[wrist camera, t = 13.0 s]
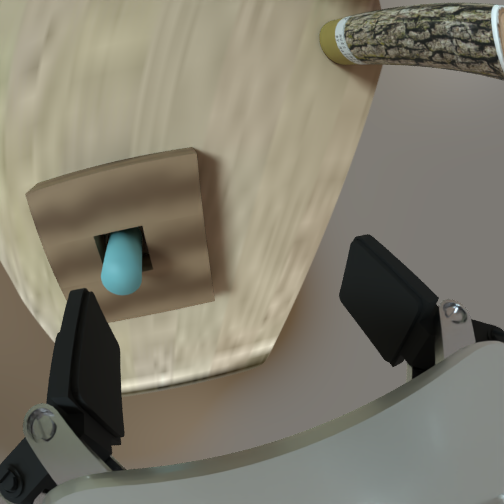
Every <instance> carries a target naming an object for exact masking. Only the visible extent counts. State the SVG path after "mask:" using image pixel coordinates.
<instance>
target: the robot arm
mask: <svg viewBox="0 0 504 504" xmlns="http://www.w3.org/2000/svg"><path fill="white" fill-rule="evenodd" d="M339 297H340V300H341V302H342V303H343V305H344V306H345V307H346V309H347V310H348V312H349V313H350V314H351V315H352V317H353V318H354V319H355V321H356V322H357V323H358V325H359V326H360V327H361V329H362V330H363V331H364V333H365V334H366V335H367V337H368V338H369V339H370V341H371V342H372V343H373V345H374V346H375V347H376V349H377V350H378V351H379V353H380V354H381V356H382V357H383V358H384V360H385V361H387V362H389V363H390V364H391V365H392V367H394V366H396V365H398V364H400V363H402V362H403V361H404V359H405V360H406V361H407V377H406V383H405V384H404V385H402V386H400V387H398V388H397V389H395V390H393V391H391V392H390V393H388V394H386V395H384V396H382V397H380V398H378V399H376V400H374V401H372V402H370V403H368V404H367V405H364V406H362V407H360V408H358V409H356V410H354V411H352V412H350V413H347V414H345V415H343V416H341V417H339V418H336V419H334V420H331V421H329V422H327V423H324V424H322V425H319V426H317V427H314V428H312V429H309V430H306V431H304V432H301V433H298V434H295V435H293V436H290V437H287V438H284V439H281V440H278V441H275V442H271V443H268V444H265V445H262V446H258V447H255V448H251V449H248V450H243V451H239V452H235V453H231V454H227V455H223V456H218V457H214V458H209V459H203V460H199V461H192V462H186V463H181V464H174V465H168V466H160V467H151V468H142V469H131V470H126V469H125V468H124V467H123V466H122V465H121V464H120V463H119V462H118V461H117V460H116V459H115V458H114V457H113V456H112V455H111V454H112V447H111V445H121V439H120V437H124V423H123V413H122V397H121V373H120V348H119V344H118V342H117V340H116V338H115V336H114V334H113V332H112V331H111V329H110V327H109V325H108V323H107V320H106V318H105V316H104V314H103V312H102V310H101V308H100V306H99V304H98V301H97V299H96V297H95V295H94V293H93V292H92V291H90V292H89V291H88V289H87V288H82V289H76V290H71V291H70V293H69V296H68V300H67V304H66V308H65V312H64V316H63V321H62V325H61V330H60V332H59V333H58V334H57V337H56V341H55V346H54V351H53V357H52V363H51V370H50V377H49V385H48V393H47V403H46V404H43V403H41V404H37V405H35V406H33V407H32V408H30V410H29V411H28V412H27V413H26V415H25V418H24V422H23V431H24V435H25V438H24V439H23V440H22V441H21V442H20V443H19V444H18V446H17V447H16V448H15V449H14V450H13V451H12V452H11V453H10V454H9V455H8V456H7V458H6V459H5V460H4V461H3V462H2V463H1V464H0V504H504V331H503V330H502V329H500V328H498V327H496V326H493V325H490V324H486V323H482V322H479V321H476V320H472V319H471V317H470V314H469V312H468V310H467V309H466V307H464V306H463V305H462V304H461V303H459V302H458V301H455V300H450V299H447V300H443V301H442V302H441V303H440V305H439V307H438V306H437V305H436V303H437V301H438V299H439V298H438V297H437V296H436V295H435V294H434V293H433V292H432V291H431V290H430V289H429V288H428V287H427V286H426V285H425V284H424V283H423V282H422V281H421V280H420V279H419V278H418V277H417V276H416V275H415V274H414V273H413V272H412V271H410V270H409V269H408V268H407V267H406V266H405V265H404V264H403V263H402V262H401V261H400V260H398V259H397V258H396V257H395V256H394V255H393V254H392V253H391V252H389V251H388V250H387V249H386V248H385V247H384V246H383V245H382V244H380V243H379V242H378V241H377V240H376V239H375V238H374V237H372V236H371V235H368V234H367V235H362V236H357V237H355V239H354V240H353V242H352V243H351V245H350V250H349V254H348V259H347V264H346V268H345V272H344V277H343V281H342V285H341V289H340V293H339Z"/></svg>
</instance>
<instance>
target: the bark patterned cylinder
mask: <svg viewBox="0 0 504 504" xmlns="http://www.w3.org/2000/svg"><path fill="white" fill-rule="evenodd" d="M320 45H321V47H322V50H323V51H324V53H325V54H326V55H327V57H329V58H330V59H331V60H332V61H334V62H336V63H338V64H343V65H351V64H386V65H388V64H390V65H409V66H422V67H432V68H441V69H448V70H456V71H462V72H467V73H473V74H478V75H483V76H487V77H492V78H496V79H500V80H504V6H502V5H501V6H499V5H496V4H482V3H434V4H421V5H411V6H402V7H395V8H388V9H382V10H377V11H371V12H366V13H361V14H357V15H353V16H348V17H345V18H341V19H337V20H333V21H330V22H328V23H326V24H325V25H324V26H323V27H322V29H321V32H320Z"/></svg>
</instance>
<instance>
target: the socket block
mask: <svg viewBox="0 0 504 504" xmlns="http://www.w3.org/2000/svg"><path fill="white" fill-rule="evenodd" d="M26 198H27V201H28V205H29V208H30V211H31V214H32V217H33V220H34V223H35V226H36V229H37V232H38V235H39V238H40V240H41V243H42V246H43V248H44V251H45V253H46V256H47V258H48V261H49V263H50V266H51V268H52V270H53V273H54V275H55V277H56V279H57V281H58V284H59V286H60V288H61V290H62V292H63V294H64V296H65V298H66V300H68V296H69V293H70V291H71V290H76V289H82V288H87V289H88V291H89V292H90V291H92V292H93V293H94V295H95V297H96V299H97V301H98V304H99V306H100V308H101V310H102V312H103V314H104V316H105V318H106V320H107V323H109V322H115V321H120V320H125V319H130V318H136V317H141V316H146V315H151V314H156V313H161V312H166V311H170V310H175V309H180V308H185V307H189V306H194V305H198V304H203V303H207V302H212V301H215V298H214V291H213V285H212V278H211V271H210V264H209V256H208V249H207V241H206V233H205V225H204V217H203V208H202V200H201V191H200V181H199V171H198V161H197V153H196V152H195V150H194V149H193V148H192V147H190V148H183V149H177V150H171V151H165V152H159V153H154V154H149V155H144V156H139V157H134V158H129V159H124V160H120V161H116V162H111V163H107V164H103V165H99V166H95V167H91V168H87V169H84V170H80V171H76V172H73V173H69V174H66V175H62V176H59V177H56V178H53V179H49V180H46V181H43V182H40V183H37V184H36V185H35V186H34V187H33V188H32V189H31V190H30V191H28V192H27V193H26ZM138 226H143V230H144V235H145V239H146V243H147V247H148V251H149V254H146V255H142V282H141V285H140V287H139V288H138V289H137V290H136V291H135V292H133V293H132V294H129V295H117V294H114V293H112V292H110V291H108V290H107V289H106V288H105V287H104V285H103V283H102V280H101V272H102V267H103V263H104V258H105V253H106V249H107V248H106V245H105V242H104V239H103V235H102V234H106V233H110V232H115V231H119V230H124V229H129V228H133V227H138Z"/></svg>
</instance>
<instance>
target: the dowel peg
mask: <svg viewBox="0 0 504 504" xmlns="http://www.w3.org/2000/svg"><path fill="white" fill-rule="evenodd" d="M101 280H102V283H103V285H104V287H105V288H106V289H107V290H108V291H110V292H112V293H114V294H117V295H129V294H132V293H133V292H135V291H136V290H137V289H138V288H139V287H140V285H141V282H142V233H141V231H140V229H139V228H138V227H133V228H129V229H124V230H119V231H115V232H111V233H110V236H109V241H108V245H107V249H106V253H105V258H104V263H103V267H102V272H101Z"/></svg>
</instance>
